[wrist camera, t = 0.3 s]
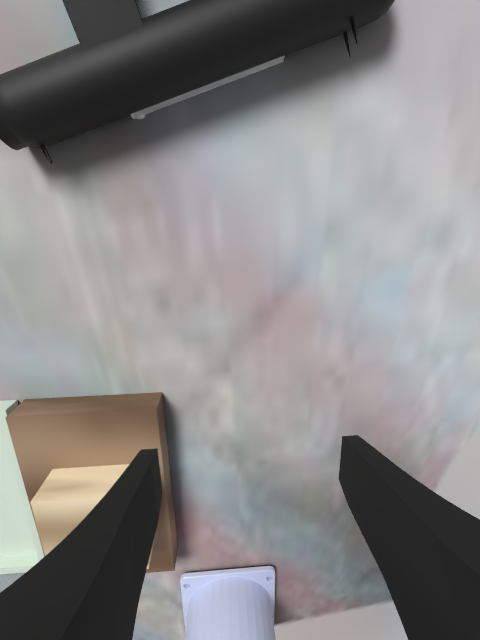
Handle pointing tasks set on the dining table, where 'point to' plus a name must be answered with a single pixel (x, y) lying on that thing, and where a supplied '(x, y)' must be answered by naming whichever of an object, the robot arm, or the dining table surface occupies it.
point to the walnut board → (96, 447)
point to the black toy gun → (159, 59)
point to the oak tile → (70, 500)
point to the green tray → (14, 507)
